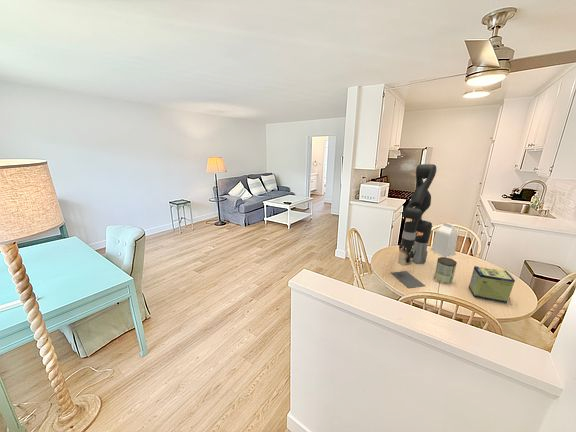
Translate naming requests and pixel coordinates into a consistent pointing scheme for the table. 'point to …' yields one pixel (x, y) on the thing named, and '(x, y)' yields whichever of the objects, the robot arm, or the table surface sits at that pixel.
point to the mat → (407, 279)
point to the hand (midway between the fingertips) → (405, 260)
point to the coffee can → (445, 270)
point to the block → (403, 258)
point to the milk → (445, 240)
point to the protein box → (491, 284)
